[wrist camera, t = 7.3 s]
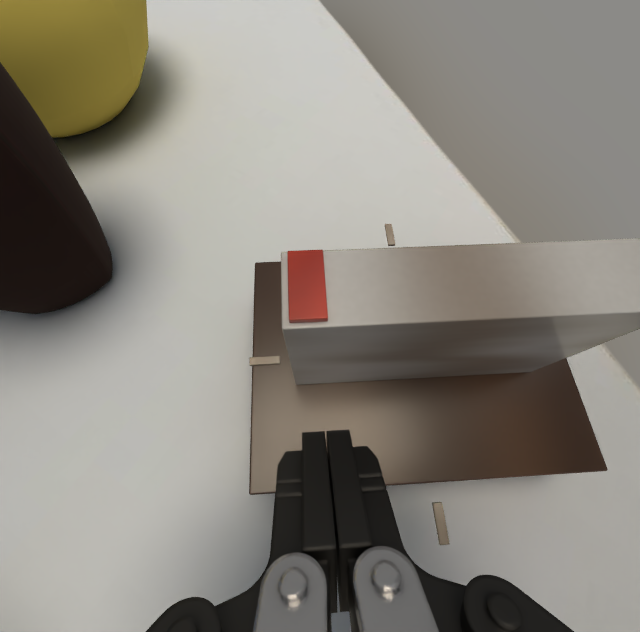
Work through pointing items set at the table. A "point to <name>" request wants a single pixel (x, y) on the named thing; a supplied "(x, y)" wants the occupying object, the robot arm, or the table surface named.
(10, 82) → the mug
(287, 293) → the red-tipped metal bar
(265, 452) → the brown rectangular plinth
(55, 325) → the table surface
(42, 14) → the vase
